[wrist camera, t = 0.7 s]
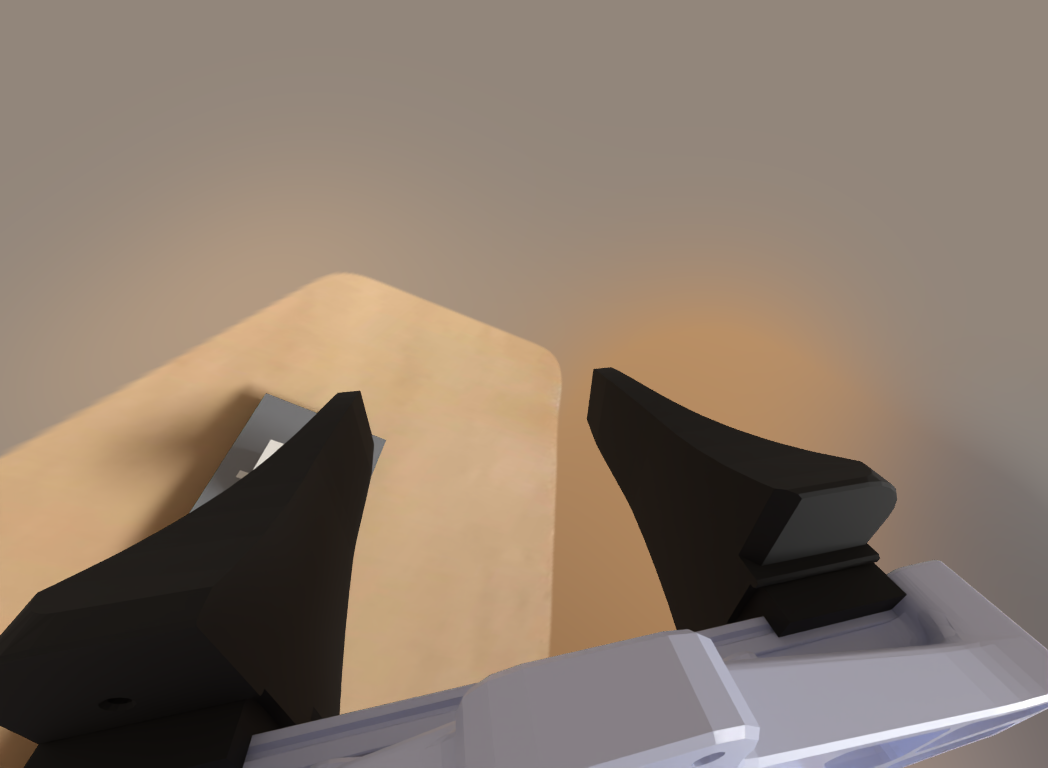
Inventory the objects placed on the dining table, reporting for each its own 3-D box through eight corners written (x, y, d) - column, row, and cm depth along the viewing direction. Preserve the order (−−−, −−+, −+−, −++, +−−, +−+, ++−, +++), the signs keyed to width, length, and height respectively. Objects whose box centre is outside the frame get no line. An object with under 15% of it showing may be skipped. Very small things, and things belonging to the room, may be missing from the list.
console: (231, 802, 18) (230, 818, 17) (8, 804, 15) (-11, 825, 14) (380, 444, 28) (386, 439, 27) (264, 400, 25) (266, 392, 24)
